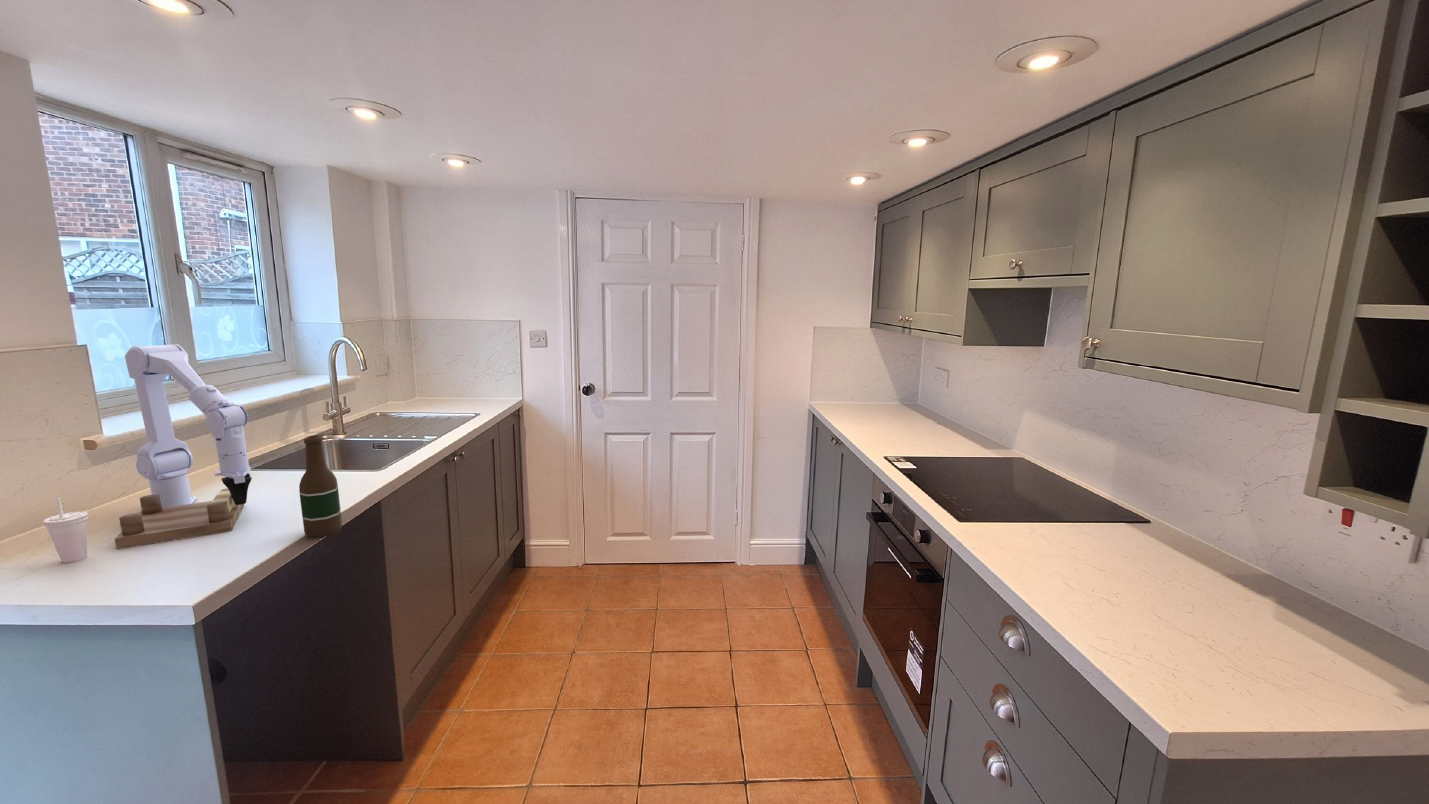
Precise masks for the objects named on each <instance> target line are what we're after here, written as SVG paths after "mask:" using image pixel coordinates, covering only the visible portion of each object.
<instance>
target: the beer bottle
mask: <svg viewBox="0 0 1429 804" xmlns="http://www.w3.org/2000/svg"><path fill="white" fill-rule="evenodd" d="M323 440H324V439H323V437H322V436H321V435H310V436H306V437H304V440H303V444H305V463H306V464H305V465H306V466H305V472H304V473H303V474H302V477H301V479H300V481H299V486H298V487H299V489H298V490H299V500H300V507H301V516H302V523H303V530H304V535H305V536H306V537H309V538H313V539H316V538H325V537H329V536H332V535H335V534H337V533H340V531H341V529H342V528H343V527H342V526H343V525H342V523H343V522H342V511H341V501H340V494H339V485H338V480H337V477H336V475H335V473H334V472H333V471H331V470H330V469H329V468H328V466H327V462H326V459H325V458H326V457H325V453H324V447H323V443H322V441H323Z"/></svg>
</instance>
